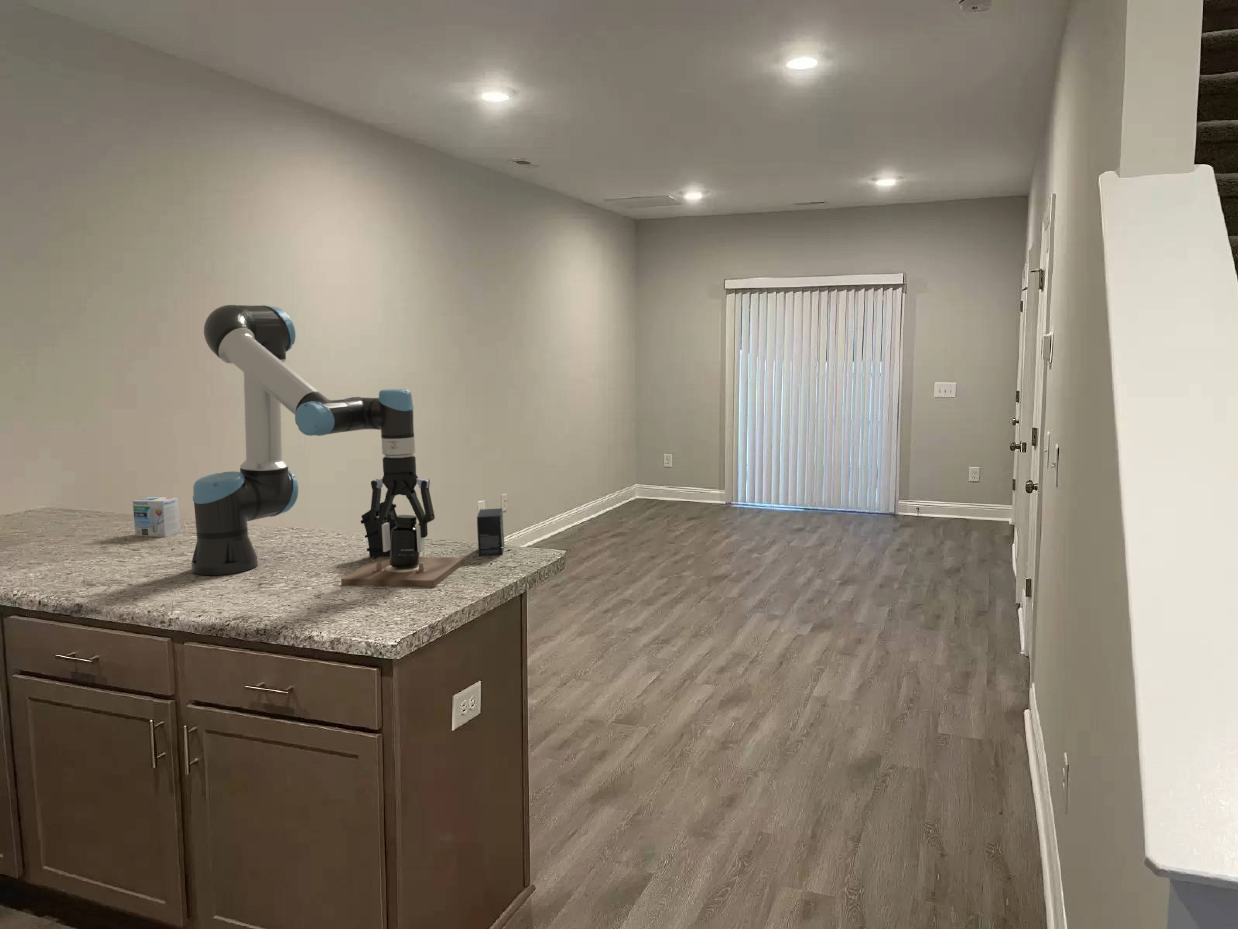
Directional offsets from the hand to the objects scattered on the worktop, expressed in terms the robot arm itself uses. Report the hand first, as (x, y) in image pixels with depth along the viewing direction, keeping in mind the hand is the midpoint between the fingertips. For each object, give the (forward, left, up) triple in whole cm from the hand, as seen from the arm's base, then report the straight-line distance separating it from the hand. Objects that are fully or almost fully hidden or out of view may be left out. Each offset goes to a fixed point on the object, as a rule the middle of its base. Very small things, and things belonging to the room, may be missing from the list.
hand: (404, 550), depth 219 cm
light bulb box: (-93, +42, -6) cm, 102 cm away
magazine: (-12, +16, -6) cm, 21 cm away
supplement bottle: (0, 0, -4) cm, 4 cm away
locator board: (0, 0, -6) cm, 6 cm away
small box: (+14, +25, -6) cm, 29 cm away
